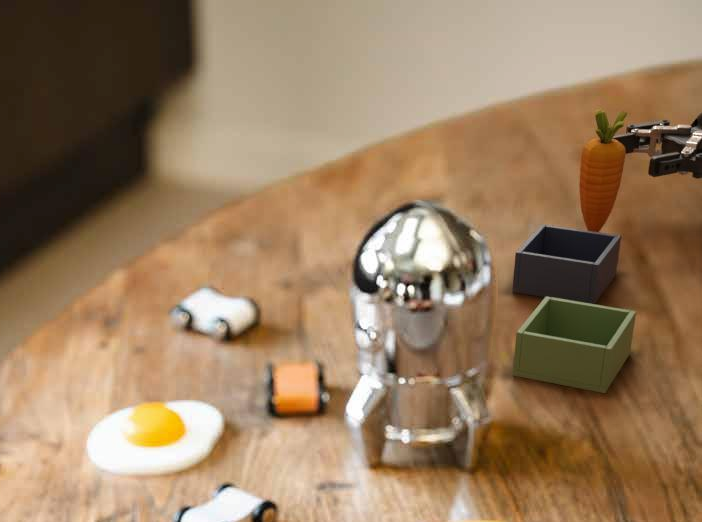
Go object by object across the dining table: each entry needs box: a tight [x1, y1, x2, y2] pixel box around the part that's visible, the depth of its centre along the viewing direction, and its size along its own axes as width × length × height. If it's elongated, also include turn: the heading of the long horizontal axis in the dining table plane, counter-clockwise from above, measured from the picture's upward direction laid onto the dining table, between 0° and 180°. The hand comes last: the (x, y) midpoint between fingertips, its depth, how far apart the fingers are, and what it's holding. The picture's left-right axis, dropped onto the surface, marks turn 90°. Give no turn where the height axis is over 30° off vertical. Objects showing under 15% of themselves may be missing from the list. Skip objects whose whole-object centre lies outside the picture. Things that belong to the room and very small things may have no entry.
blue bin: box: [511, 223, 622, 304], centre depth 134 cm, size 9×9×5 cm
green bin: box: [512, 296, 637, 394], centre depth 118 cm, size 9×9×5 cm
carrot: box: [578, 109, 628, 233], centre depth 142 cm, size 5×5×15 cm
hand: (628, 157), depth 142 cm, fingers open, 8 cm apart
